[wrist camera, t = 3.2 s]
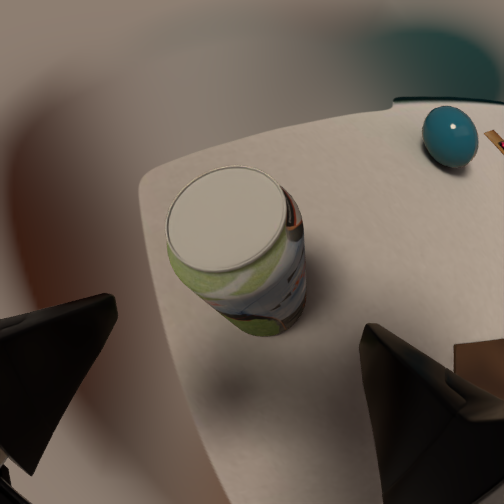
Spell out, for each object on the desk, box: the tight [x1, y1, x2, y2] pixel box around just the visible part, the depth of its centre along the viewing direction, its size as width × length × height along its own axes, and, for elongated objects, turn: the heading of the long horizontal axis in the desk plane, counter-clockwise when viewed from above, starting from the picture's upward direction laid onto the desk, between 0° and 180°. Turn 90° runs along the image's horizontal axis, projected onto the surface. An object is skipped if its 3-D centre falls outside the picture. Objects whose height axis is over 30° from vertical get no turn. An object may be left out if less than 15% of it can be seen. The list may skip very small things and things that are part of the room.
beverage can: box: [165, 165, 306, 336], centre depth 15 cm, size 6×7×12 cm
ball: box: [422, 106, 478, 168], centre depth 25 cm, size 8×8×8 cm
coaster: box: [454, 339, 504, 400], centre depth 15 cm, size 9×9×1 cm
